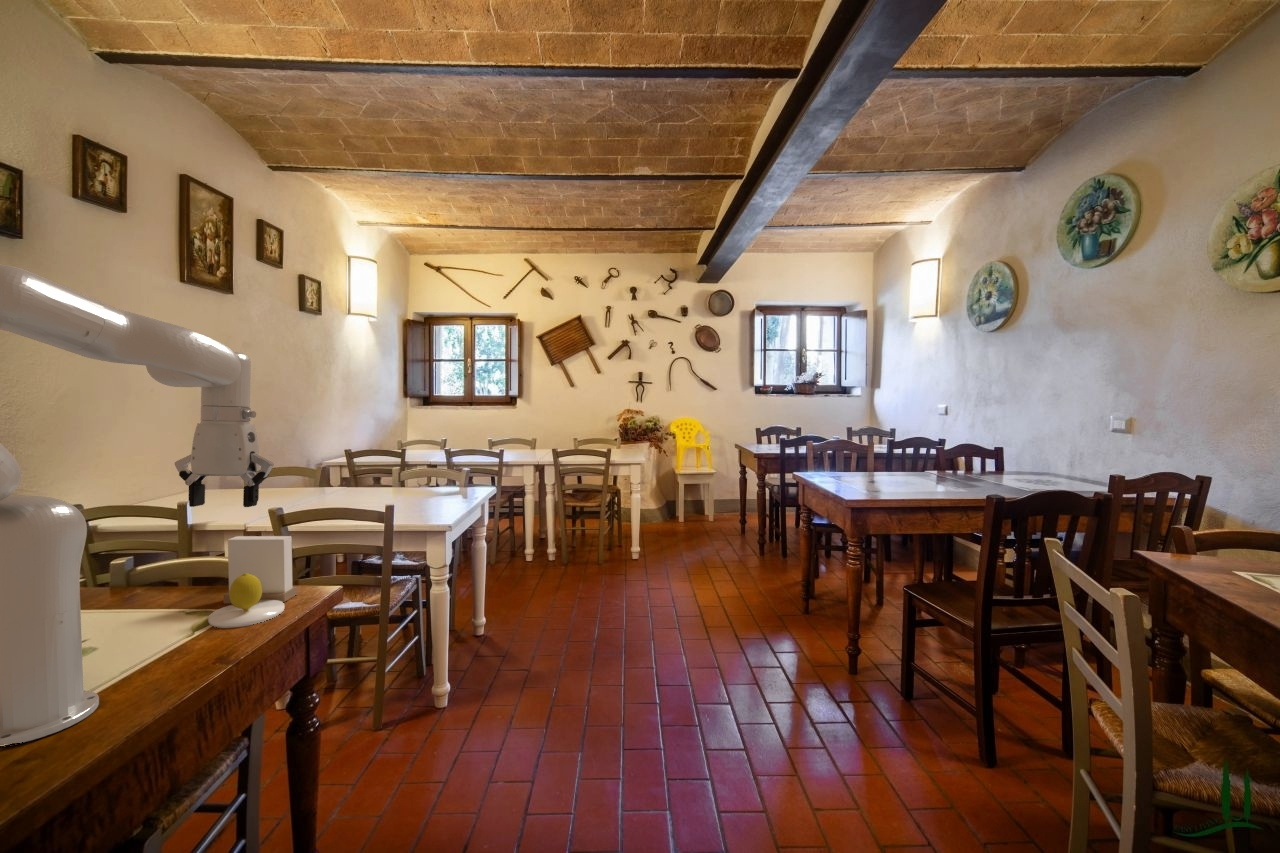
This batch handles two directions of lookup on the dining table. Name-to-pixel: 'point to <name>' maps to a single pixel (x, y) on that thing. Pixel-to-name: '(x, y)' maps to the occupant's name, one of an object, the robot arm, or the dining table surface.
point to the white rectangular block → (263, 564)
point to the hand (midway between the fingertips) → (223, 506)
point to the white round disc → (246, 614)
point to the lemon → (245, 591)
